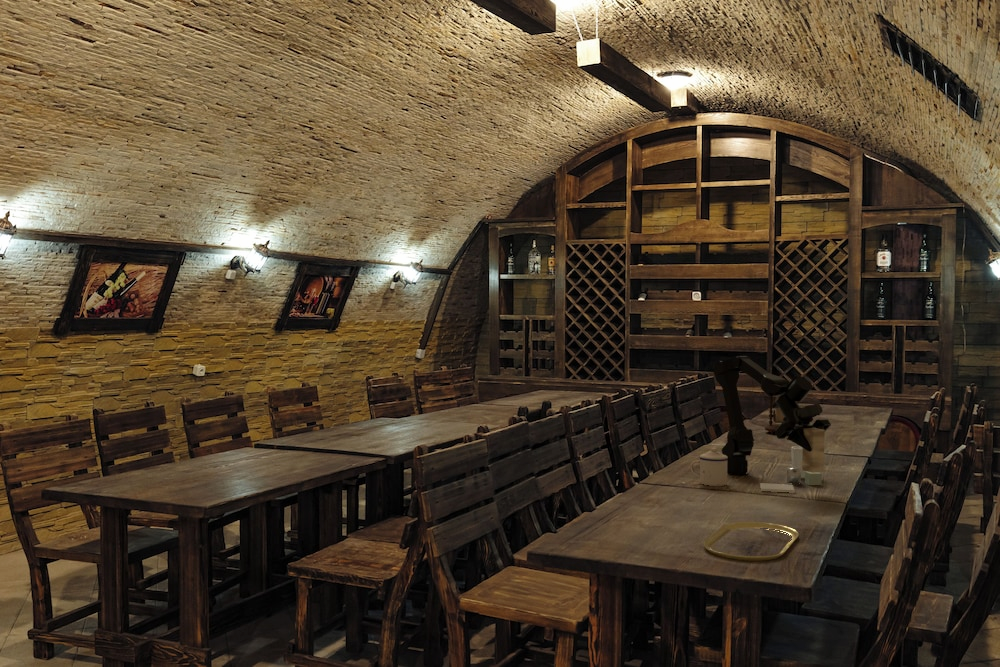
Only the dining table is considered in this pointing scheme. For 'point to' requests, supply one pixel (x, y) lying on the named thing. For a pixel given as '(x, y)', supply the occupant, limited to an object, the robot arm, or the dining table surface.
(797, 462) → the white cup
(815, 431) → the oak block
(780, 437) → the robot arm
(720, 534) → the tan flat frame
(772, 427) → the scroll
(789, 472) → the grey cylinder
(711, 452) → the teacup with lid
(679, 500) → the dining table surface
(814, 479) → the sage cube
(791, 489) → the tile
